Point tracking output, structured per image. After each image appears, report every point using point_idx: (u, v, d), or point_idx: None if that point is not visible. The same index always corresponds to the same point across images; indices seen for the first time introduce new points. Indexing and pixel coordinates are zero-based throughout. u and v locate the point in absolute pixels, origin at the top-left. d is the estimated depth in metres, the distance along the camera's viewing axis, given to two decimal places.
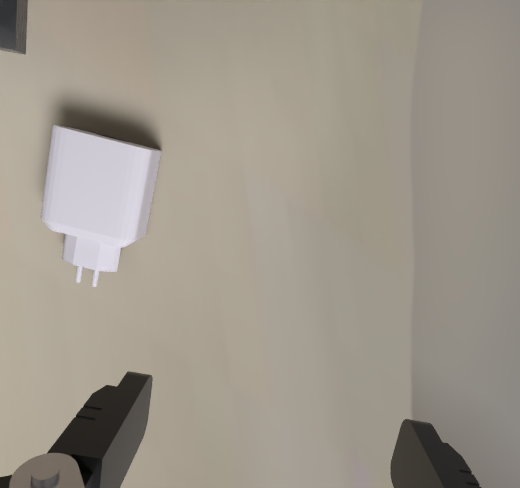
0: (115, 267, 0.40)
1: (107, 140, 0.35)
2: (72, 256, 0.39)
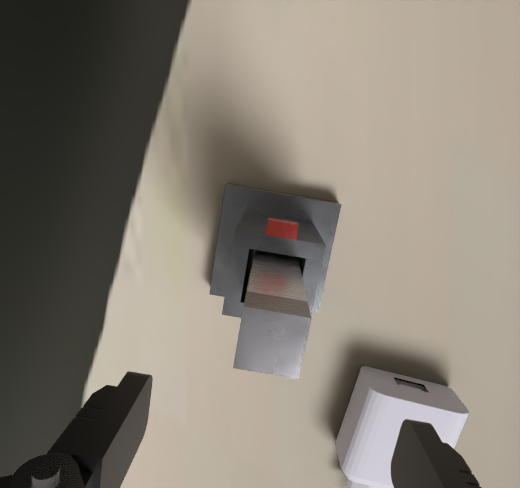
0: None
1: (430, 407, 0.34)
2: None
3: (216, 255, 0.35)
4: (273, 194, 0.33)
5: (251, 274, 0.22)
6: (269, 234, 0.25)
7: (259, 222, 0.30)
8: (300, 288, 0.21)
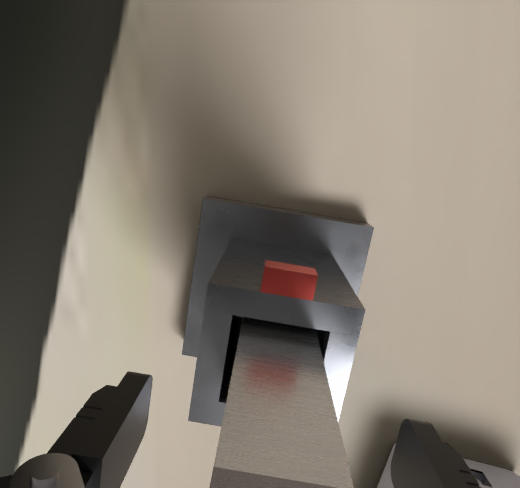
0: None
1: None
2: None
3: (191, 300, 0.24)
4: (273, 212, 0.23)
5: (231, 390, 0.11)
6: (267, 291, 0.15)
7: (252, 260, 0.19)
8: (331, 430, 0.10)
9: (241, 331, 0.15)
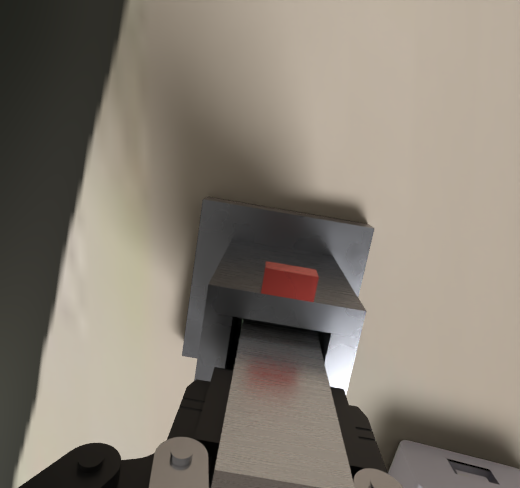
0: None
1: None
2: None
3: (191, 301, 0.24)
4: (274, 213, 0.23)
5: (231, 392, 0.11)
6: (267, 293, 0.15)
7: (252, 261, 0.19)
8: (332, 432, 0.10)
9: (242, 332, 0.15)
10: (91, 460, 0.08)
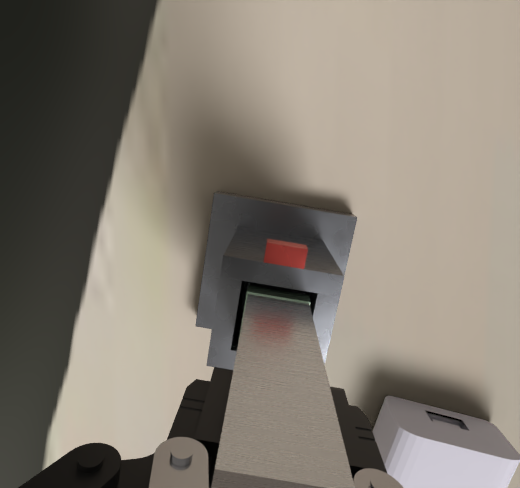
0: None
1: (475, 452, 0.27)
2: None
3: (203, 279, 0.28)
4: (273, 205, 0.27)
5: (231, 392, 0.11)
6: (268, 261, 0.19)
7: (255, 242, 0.23)
8: (332, 432, 0.10)
9: (241, 333, 0.15)
10: (91, 459, 0.08)
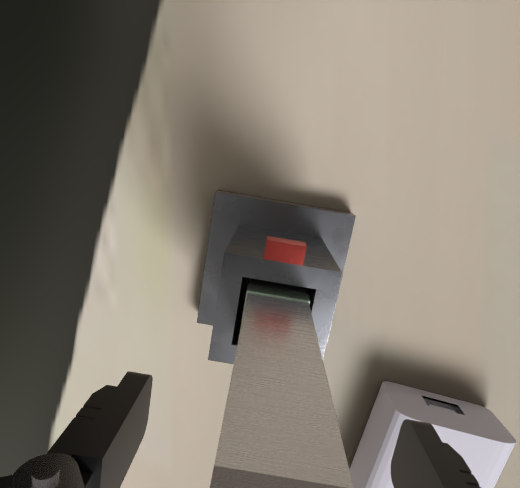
0: None
1: (470, 435, 0.28)
2: None
3: (204, 276, 0.29)
4: (273, 203, 0.28)
5: (231, 389, 0.11)
6: (268, 258, 0.20)
7: (256, 239, 0.24)
8: (330, 429, 0.10)
9: (241, 331, 0.15)
10: None
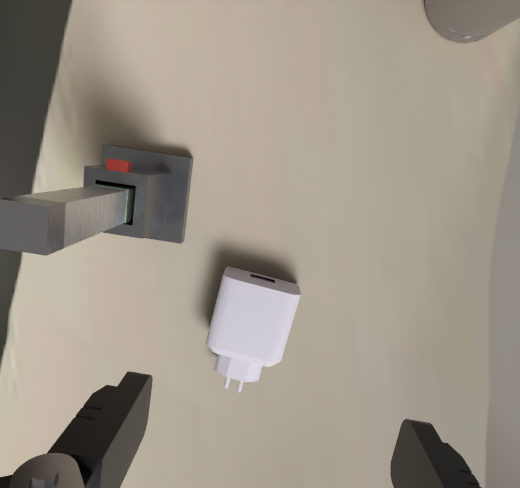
0: (257, 377, 0.49)
1: (268, 289, 0.44)
2: (226, 370, 0.48)
3: None
4: (139, 151, 0.44)
5: (45, 192, 0.28)
6: (108, 169, 0.36)
7: None
8: (76, 199, 0.27)
9: None
10: None
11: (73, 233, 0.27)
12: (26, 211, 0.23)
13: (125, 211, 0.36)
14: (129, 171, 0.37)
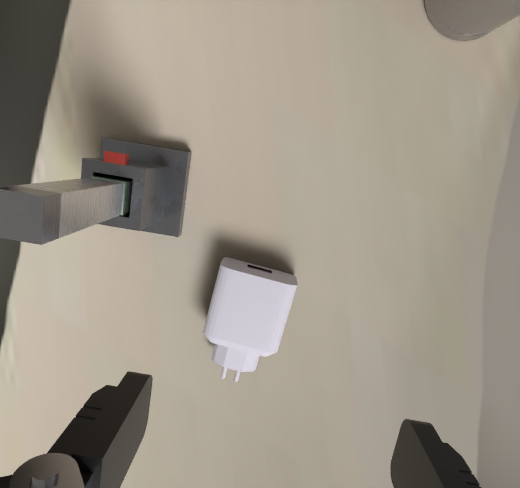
0: (254, 367, 0.49)
1: (265, 279, 0.44)
2: (223, 360, 0.48)
3: None
4: (138, 144, 0.45)
5: (41, 183, 0.28)
6: (106, 161, 0.37)
7: None
8: (71, 190, 0.27)
9: None
10: None
11: (69, 223, 0.27)
12: (22, 200, 0.23)
13: (122, 203, 0.36)
14: (126, 164, 0.37)
